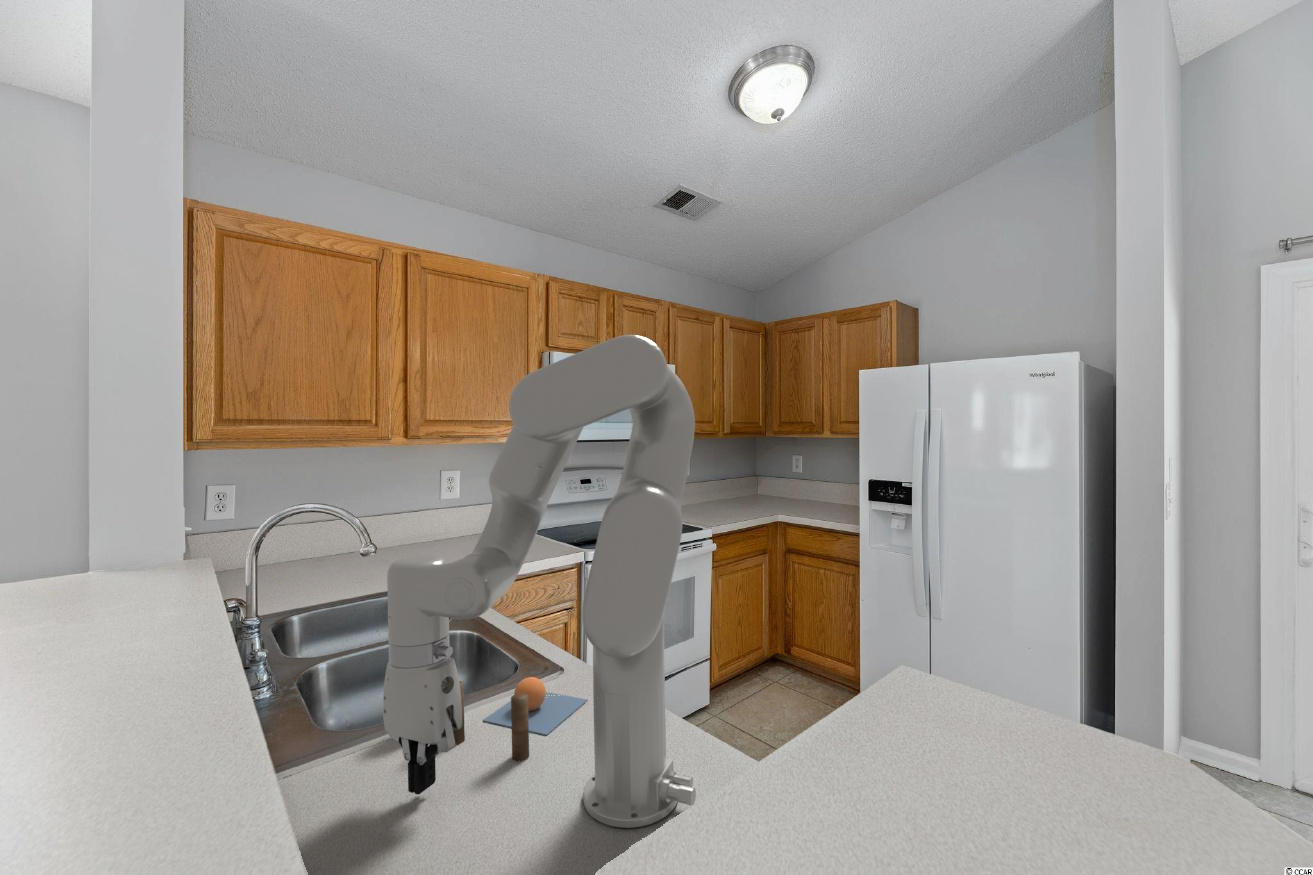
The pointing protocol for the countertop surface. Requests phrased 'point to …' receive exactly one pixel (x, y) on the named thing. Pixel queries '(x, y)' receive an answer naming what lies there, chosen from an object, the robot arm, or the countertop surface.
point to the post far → (460, 733)
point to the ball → (532, 691)
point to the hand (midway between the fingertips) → (422, 787)
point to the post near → (520, 727)
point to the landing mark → (541, 713)
